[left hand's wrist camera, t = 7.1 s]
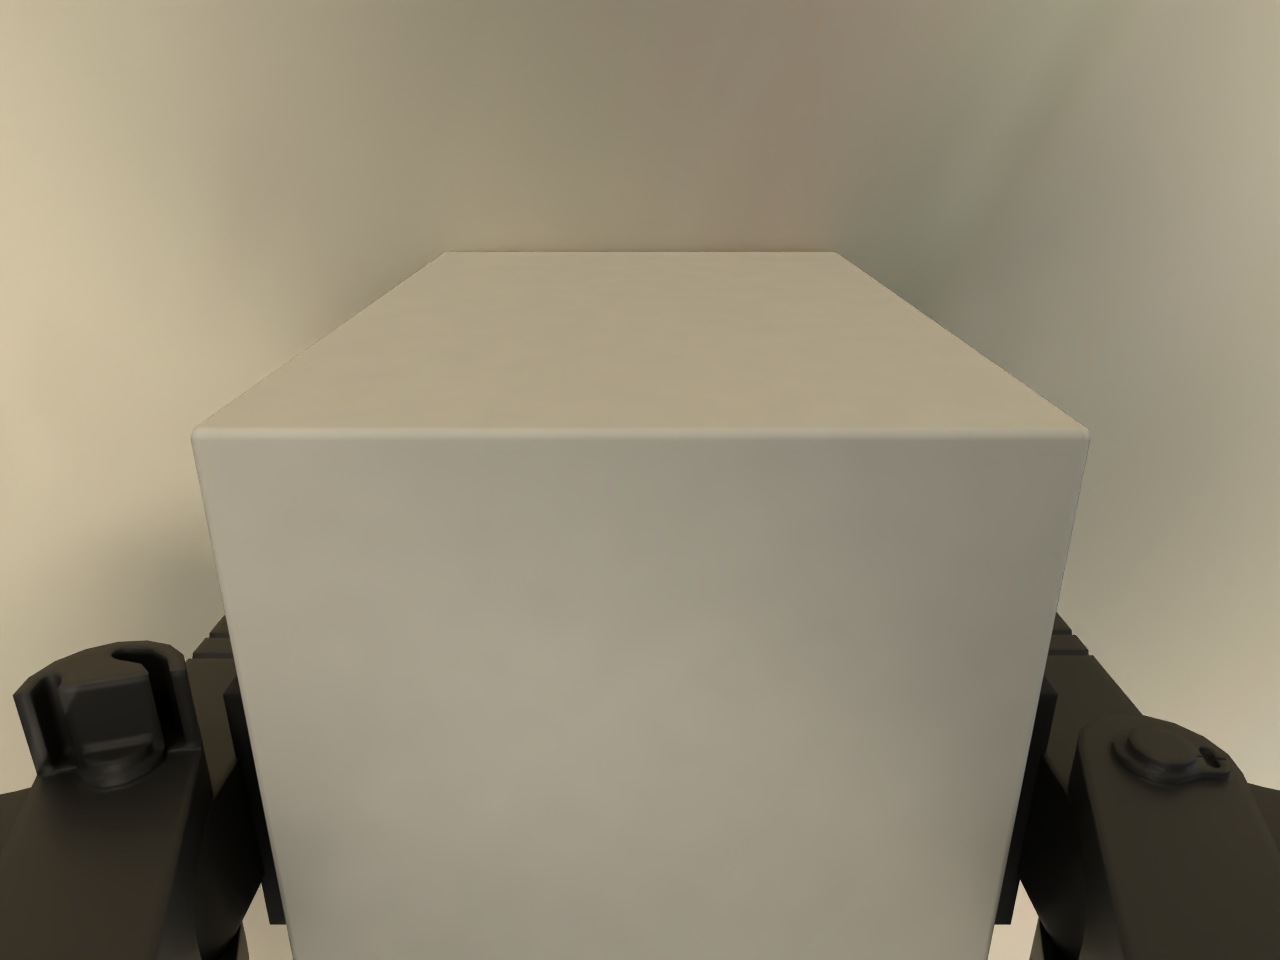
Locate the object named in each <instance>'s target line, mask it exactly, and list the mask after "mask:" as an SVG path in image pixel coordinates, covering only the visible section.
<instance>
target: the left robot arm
mask: <svg viewBox="0 0 1280 960" xmlns="http://www.w3.org/2000/svg"><path fill="white" fill-rule="evenodd" d="M13 698H14V701H15V704H16V707H17V711H18V714H19V717H20V720H21V724H22V727H23V730H24V733H25V736H26V740H27V743H28V746H29V749H30V753H31V756H32V759H33V762H34V766H35V769H36V772H37V776H36V779H35V781H34V783H33V785H32V787H31V788H27V789H23V790H20V791H15V792H11V793H6V794H1V795H0V960H249V954H248V948H247V941H246V936H245V932H244V927H243V922H242V920H243V918H244V916H245V914H246V912H247V910H248V908H249V906H250V904H251V902H252V900H253V898H254V896H255V894H256V892H257V890H258V888H259V886H260V884H261V883H262V888H263V893H264V898H265V902H266V907H267V912H268V917H269V922H270V924H286V920H285V915H284V910H283V905H282V900H281V894H280V889H279V884H278V879H277V874H276V869H275V864H274V859H273V854H272V849H271V844H270V839H269V834H268V828H267V823H266V818H265V813H264V808H263V803H262V798H261V793H260V788H259V783H258V778H257V773H256V768H255V762H254V757H253V752H252V747H251V742H250V737H249V732H248V727H247V722H246V717H245V712H244V707H243V701H242V696H241V691H240V686H239V681H238V676H237V671H236V666H235V661H234V656H233V651H232V646H231V641H230V635H229V630H228V625H227V620H226V615H224V616H223V618H222V619H221V620H220V621H219V622H218V624H217V625H216V626H215V627H214V629H213V630H212V631H211V632H210V637H209V638H205V639H204V641H203V642H202V643H201V644H200V645H199V647H198V648H197V649H196V650H195V651H194V653H193V658H192V659H188V660H187V661H186V662H185V660H184V656H183V654H182V653H180V652H179V651H178V650H176V649H175V648H173V647H172V646H171V645H168V644H163V643H157V642H152V641H128V642H116V643H111V644H107V645H102V646H98V647H94V648H89V649H85V650H83V651H80V652H78V653H75V654H73V655H70V656H67V657H65V658H62V659H60V660H57V661H55V662H53V663H52V664H50V665H48V666H47V667H45V668H43V669H42V670H40V671H39V672H37V673H35V674H34V675H32V676H31V677H29V678H28V679H27V680H26V681H25V682H24V683H23V685H22V686H21V687H20V688H19V689H18V690H17V691H16V692H15V693H14V694H13ZM1020 880H1021V882H1022V884H1023V886H1024V888H1025V890H1026V892H1027V894H1028V896H1029V898H1030V900H1031V902H1032V904H1033V906H1034V908H1035V910H1036V912H1037V914H1038V916H1039V918H1038V922H1037V927H1036V932H1035V936H1034V941H1033V945H1032V950H1031V954H1030V959H1029V960H1280V790H1275V789H1270V788H1265V787H1261V786H1257V785H1254V784H1250V783H1247V781H1246V779H1245V777H1244V775H1243V773H1242V772H1241V770H1240V769H1239V768H1238V766H1237V765H1236V764H1235V763H1234V761H1233V760H1232V759H1231V757H1230V756H1229V755H1228V754H1227V753H1226V752H1224V751H1223V750H1222V749H1220V748H1219V747H1217V746H1216V745H1215V744H1213V743H1212V742H1210V741H1209V740H1208V739H1206V738H1205V737H1203V736H1201V735H1199V734H1197V733H1195V732H1192V731H1190V730H1188V729H1186V728H1184V727H1181V726H1179V725H1177V724H1175V723H1171V722H1167V721H1164V720H1160V719H1156V718H1152V717H1148V716H1144V715H1142V714H1141V712H1140V711H1139V710H1138V709H1137V708H1136V706H1135V705H1134V704H1133V703H1132V702H1131V701H1130V699H1129V698H1128V697H1127V696H1126V695H1125V693H1124V692H1123V691H1122V690H1121V689H1120V687H1119V686H1118V685H1117V684H1116V683H1115V681H1114V680H1113V679H1112V678H1111V677H1110V675H1109V674H1108V673H1107V672H1106V671H1105V669H1104V668H1103V667H1102V666H1101V665H1100V663H1099V662H1098V661H1097V660H1096V659H1095V657H1094V656H1093V655H1089V654H1088V649H1087V648H1086V647H1085V646H1084V644H1083V643H1082V642H1081V641H1080V640H1079V638H1078V637H1077V636H1076V635H1072V630H1071V629H1070V628H1069V626H1068V625H1067V624H1066V623H1065V622H1064V620H1063V619H1062V618H1061V617H1060V616H1059V614H1058V613H1057V612H1056V615H1055V620H1054V625H1053V630H1052V635H1051V640H1050V645H1049V650H1048V655H1047V660H1046V665H1045V670H1044V675H1043V681H1042V686H1041V691H1040V696H1039V701H1038V706H1037V711H1036V716H1035V721H1034V726H1033V731H1032V736H1031V741H1030V746H1029V751H1028V757H1027V762H1026V767H1025V772H1024V777H1023V782H1022V787H1021V792H1020V797H1019V802H1018V807H1017V812H1016V817H1015V822H1014V827H1013V833H1012V838H1011V843H1010V848H1009V853H1008V858H1007V863H1006V868H1005V873H1004V878H1003V883H1002V888H1001V893H1000V898H999V904H998V909H997V914H996V919H995V924H1008V925H1011V920H1012V915H1013V910H1014V905H1015V900H1016V896H1017V891H1018V886H1019V881H1020Z"/></svg>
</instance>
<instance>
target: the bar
mask: <svg viewBox="0 0 1280 960" xmlns="http://www.w3.org/2000/svg"><path fill="white" fill-rule="evenodd" d="M191 442H192V448H193V453H194V458H195V463H196V468H197V473H198V478H199V483H200V488H201V493H202V498H203V503H204V508H205V514H206V519H207V524H208V529H209V534H210V539H211V544H212V549H213V554H214V559H215V564H216V569H217V575H218V580H219V585H220V590H221V595H222V600H223V605H224V610H225V615H226V620H227V625H228V630H229V635H230V641H231V646H232V651H233V656H234V661H235V666H236V671H237V676H238V681H239V686H240V691H241V696H242V701H243V707H244V712H245V717H246V722H247V727H248V732H249V737H250V742H251V747H252V752H253V757H254V762H255V768H256V773H257V778H258V783H259V788H260V793H261V798H262V803H263V808H264V813H265V818H266V823H267V828H268V834H269V839H270V844H271V849H272V854H273V859H274V864H275V869H276V874H277V879H278V884H279V889H280V894H281V900H282V905H283V910H284V915H285V920H286V925H287V930H288V935H289V940H290V945H291V950H292V955H293V960H987V959H988V954H989V949H990V944H991V939H992V934H993V929H994V924H995V919H996V914H997V909H998V904H999V898H1000V893H1001V888H1002V883H1003V878H1004V873H1005V868H1006V863H1007V858H1008V853H1009V848H1010V843H1011V838H1012V833H1013V827H1014V822H1015V817H1016V812H1017V807H1018V802H1019V797H1020V792H1021V787H1022V782H1023V777H1024V772H1025V767H1026V762H1027V757H1028V751H1029V746H1030V741H1031V736H1032V731H1033V726H1034V721H1035V716H1036V711H1037V706H1038V701H1039V696H1040V691H1041V686H1042V681H1043V675H1044V670H1045V665H1046V660H1047V655H1048V650H1049V645H1050V640H1051V635H1052V630H1053V625H1054V620H1055V615H1056V610H1057V605H1058V599H1059V594H1060V589H1061V584H1062V579H1063V574H1064V569H1065V564H1066V559H1067V554H1068V549H1069V544H1070V539H1071V534H1072V528H1073V523H1074V518H1075V513H1076V508H1077V503H1078V498H1079V493H1080V488H1081V483H1082V478H1083V473H1084V468H1085V463H1086V458H1087V452H1088V447H1089V442H1090V436H1089V431H1088V429H1087V428H1086V427H1084V426H1083V425H1081V424H1080V423H1078V422H1077V421H1076V420H1074V419H1073V418H1071V417H1070V416H1068V415H1067V414H1066V413H1064V412H1063V411H1061V410H1060V409H1058V408H1057V407H1056V406H1054V405H1053V404H1051V403H1050V402H1049V401H1047V400H1046V399H1044V398H1043V397H1041V396H1040V395H1039V394H1037V393H1036V392H1034V391H1033V390H1031V389H1030V388H1029V387H1027V386H1026V385H1024V384H1023V383H1021V382H1020V381H1019V380H1017V379H1016V378H1014V377H1013V376H1011V375H1010V374H1009V373H1007V372H1006V371H1004V370H1003V369H1002V368H1000V367H999V366H997V365H996V364H994V363H993V362H992V361H990V360H989V359H987V358H986V357H984V356H983V355H982V354H980V353H979V352H977V351H976V350H974V349H973V348H972V347H970V346H969V345H967V344H966V343H964V342H963V341H962V340H960V339H959V338H957V337H956V336H955V335H953V334H952V333H950V332H949V331H947V330H946V329H945V328H943V327H942V326H940V325H939V324H937V323H936V322H935V321H933V320H932V319H930V318H929V317H927V316H926V315H925V314H923V313H922V312H920V311H919V310H917V309H916V308H915V307H913V306H912V305H910V304H909V303H908V302H906V301H905V300H903V299H902V298H900V297H899V296H898V295H896V294H895V293H893V292H892V291H890V290H889V289H888V288H886V287H885V286H883V285H882V284H880V283H879V282H878V281H876V280H875V279H873V278H872V277H870V276H869V275H868V274H866V273H865V272H863V271H862V270H861V269H859V268H858V267H856V266H855V265H853V264H852V263H851V262H849V261H848V260H846V259H845V258H843V257H842V256H841V255H839V254H838V253H835V252H445V253H443V254H441V255H440V256H439V257H437V258H436V259H434V260H433V261H431V262H430V263H429V264H427V265H426V266H424V267H423V268H421V269H420V270H419V271H417V272H416V273H414V274H413V275H412V276H410V277H409V278H407V279H406V280H404V281H403V282H402V283H400V284H399V285H397V286H396V287H394V288H393V289H392V290H390V291H389V292H387V293H386V294H385V295H383V296H382V297H380V298H379V299H377V300H376V301H375V302H373V303H372V304H370V305H369V306H367V307H366V308H365V309H363V310H362V311H360V312H359V313H357V314H356V315H355V316H353V317H352V318H350V319H349V320H348V321H346V322H345V323H343V324H342V325H340V326H339V327H338V328H336V329H335V330H333V331H332V332H330V333H329V334H328V335H326V336H325V337H323V338H322V339H321V340H319V341H318V342H316V343H315V344H313V345H312V346H311V347H309V348H308V349H306V350H305V351H303V352H302V353H301V354H299V355H298V356H296V357H295V358H293V359H292V360H291V361H289V362H288V363H286V364H285V365H284V366H282V367H281V368H279V369H278V370H276V371H275V372H274V373H272V374H271V375H269V376H268V377H266V378H265V379H264V380H262V381H261V382H259V383H258V384H257V385H255V386H254V387H252V388H251V389H249V390H248V391H247V392H245V393H244V394H242V395H241V396H239V397H238V398H237V399H235V400H234V401H232V402H231V403H229V404H228V405H227V406H225V407H224V408H222V409H221V410H220V411H218V412H217V413H215V414H214V415H212V416H211V417H210V418H208V419H207V420H205V421H204V422H202V423H201V424H200V425H198V426H197V427H195V428H194V429H193V431H192V436H191Z"/></svg>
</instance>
